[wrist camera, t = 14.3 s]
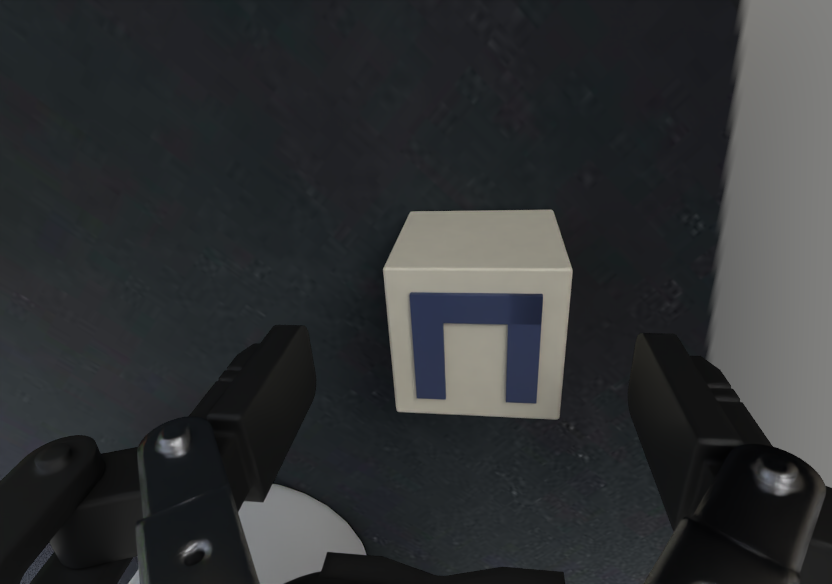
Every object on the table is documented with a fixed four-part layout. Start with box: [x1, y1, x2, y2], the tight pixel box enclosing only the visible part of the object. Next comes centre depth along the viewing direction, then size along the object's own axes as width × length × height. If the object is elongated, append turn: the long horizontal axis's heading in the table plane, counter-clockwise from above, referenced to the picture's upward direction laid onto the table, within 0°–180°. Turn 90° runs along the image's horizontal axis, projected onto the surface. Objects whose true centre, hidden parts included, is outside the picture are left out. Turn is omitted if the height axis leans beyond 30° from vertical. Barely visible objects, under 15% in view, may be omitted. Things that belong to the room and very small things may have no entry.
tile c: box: [383, 210, 573, 420], centre depth 15 cm, size 4×4×5 cm
